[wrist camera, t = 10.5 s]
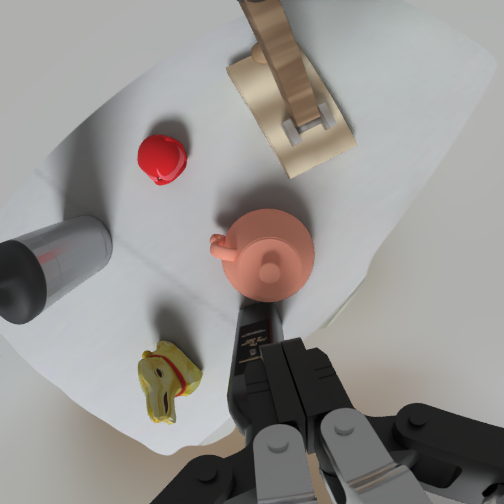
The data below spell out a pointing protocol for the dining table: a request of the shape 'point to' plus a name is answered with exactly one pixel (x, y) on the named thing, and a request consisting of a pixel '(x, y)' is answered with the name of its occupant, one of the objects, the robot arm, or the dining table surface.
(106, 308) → the dining table surface
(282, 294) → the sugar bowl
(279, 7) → the lever
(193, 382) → the chocolate bunny
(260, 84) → the nutcracker base
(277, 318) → the wine bottle
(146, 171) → the red helmet
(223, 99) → the dining table surface
